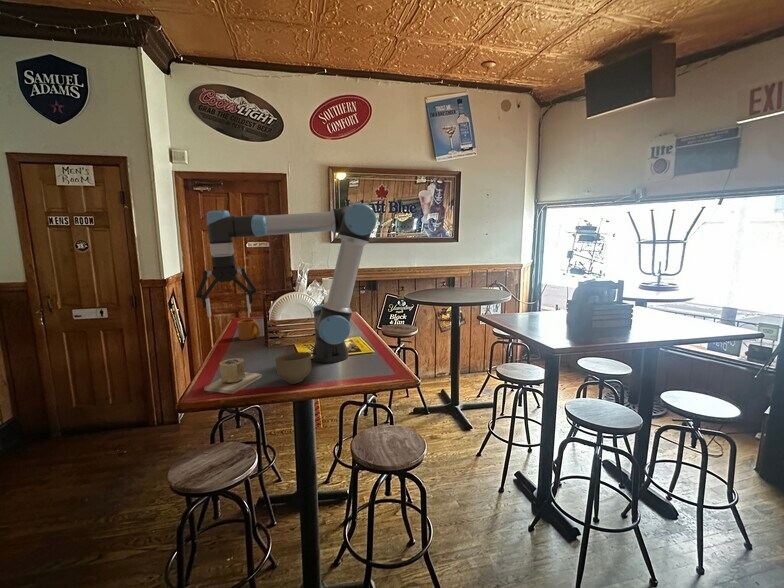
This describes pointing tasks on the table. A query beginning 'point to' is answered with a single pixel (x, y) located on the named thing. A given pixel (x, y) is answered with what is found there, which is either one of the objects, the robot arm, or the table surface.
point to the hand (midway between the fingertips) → (229, 314)
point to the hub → (232, 383)
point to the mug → (248, 329)
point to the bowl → (293, 366)
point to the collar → (232, 370)
